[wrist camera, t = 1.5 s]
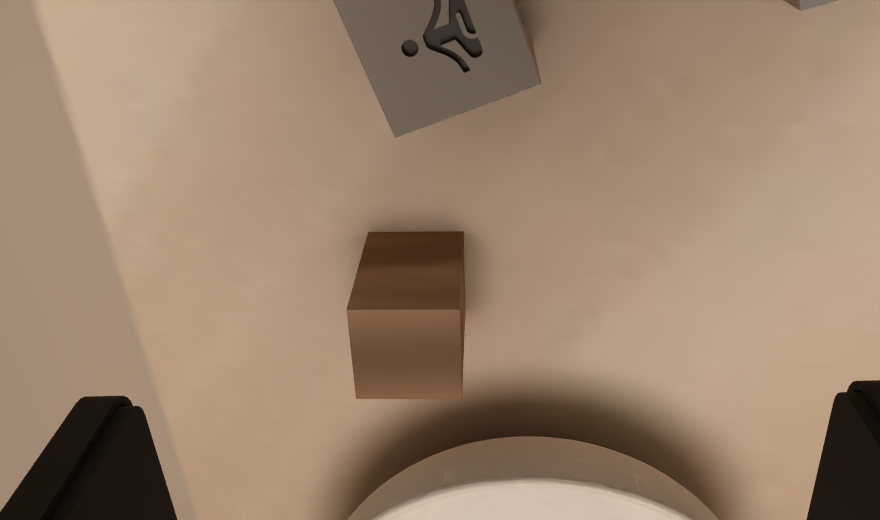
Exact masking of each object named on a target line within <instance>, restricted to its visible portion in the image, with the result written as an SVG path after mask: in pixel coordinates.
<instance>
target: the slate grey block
mask: <svg viewBox="0 0 880 520" xmlns="http://www.w3.org/2000/svg"><path fill="white" fill-rule="evenodd" d="M784 1H786V2H787V3H789V4H790V5H792V6H794V7H795V8H797V9H799V10H800V11H801V10H805V9H808V8H812V7H816V6H819V5H823V4H826V3H830V2H834V1H837V0H784Z"/></svg>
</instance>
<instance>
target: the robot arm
mask: <svg viewBox="0 0 880 520" xmlns="http://www.w3.org/2000/svg"><path fill="white" fill-rule="evenodd" d="M0 520H177V517H176V514H175V511H174V507H173V504H172V501H171V498H170V494H169V491H168V488H167V485H166V481H165V478H164V475H163V472H162V468H161V465H160V462H159V459H158V455H157V452H156V449H155V446H154V443H153V439H152V436H151V433H150V429H149V426H148V423H147V420H146V416H145V414H144V411H143V409H142V408H141V407H139V406H133V405H132V403H131V401H130V400H129V399H128V398H127V397H125V396H93V397H83V398H81V399H80V400H79V401H78V402H77V403H76V404H75V406H74V407H73V408H72V410H71V411H70V413H69V414H68V416H67V417H66V419H65V420H64V422H63V423H62V424H61V426H60V427H59V429H58V430H57V431H56V433H55V434H54V436H53V437H52V439H51V440H50V442H49V443H48V444H47V446H46V447H45V449H44V450H43V452H42V453H41V455H40V456H39V457H38V459H37V460H36V462H35V463H34V465H33V466H32V467H31V469H30V470H29V472H28V473H27V475H26V476H25V477H24V479H23V480H22V482H21V483H20V485H19V486H18V488H17V489H16V490H15V492H14V493H13V495H12V496H11V498H10V499H9V501H8V502H7V503H6V505H5V506H4V508H3V509H2V510H1V512H0ZM807 520H880V380H878V381H855V382H852V383H851V385H850V386H849V388H848V390H847V392H841V393H838V394H837V395H836V396H835V399H834V402H833V407H832V411H831V415H830V420H829V424H828V429H827V433H826V437H825V442H824V446H823V450H822V455H821V459H820V464H819V468H818V472H817V477H816V481H815V486H814V490H813V494H812V499H811V503H810V508H809V512H808V516H807Z"/></svg>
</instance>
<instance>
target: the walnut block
mask: <svg viewBox="0 0 880 520" xmlns="http://www.w3.org/2000/svg"><path fill="white" fill-rule="evenodd" d="M347 318H348V327H349V336H350V345H351V355H352V364H353V373H354V383H355V392H356V399H462V383H463V357H464V330H465V278H464V232H368V235H367V238H366V242H365V246H364V249H363V253H362V256H361V260H360V264H359V267H358V271H357V274H356V278H355V282H354V285H353V289H352V292H351V296H350V300H349V303H348V307H347Z"/></svg>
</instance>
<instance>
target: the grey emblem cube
mask: <svg viewBox="0 0 880 520" xmlns="http://www.w3.org/2000/svg"><path fill="white" fill-rule="evenodd" d="M333 1H334V3H335V5H336V7H337V10H338V12H339V14H340V16H341V19H342V21H343V23H344V25H345V27H346V30H347V32H348V34H349V36H350V39H351V41H352V43H353V45H354V47H355V50H356V52H357V54H358V56H359V58H360V61H361V63H362V65H363V67H364V70H365V72H366V74H367V76H368V78H369V81H370V83H371V85H372V87H373V90H374V92H375V94H376V96H377V98H378V101H379V103H380V105H381V107H382V110H383V112H384V114H385V116H386V118H387V121H388V123H389V125H390V127H391V129H392V132H393V134H394V136H395V138H396V137H398V136H401V135H404V134H407V133H409V132H412V131H415V130H417V129H420V128H423V127H425V126H428V125H431V124H433V123H436V122H439V121H442V120H444V119H447V118H450V117H452V116H455V115H458V114H460V113H463V112H466V111H469V110H471V109H474V108H477V107H479V106H482V105H485V104H487V103H490V102H493V101H495V100H498V99H501V98H504V97H506V96H509V95H512V94H514V93H517V92H520V91H522V90H525V89H528V88H531V87H533V86H536V85H539V84H541V80H540V76H539V71H538V66H537V62H536V57H535V52H534V48H533V43H532V40H531V38H530V35H529V32H528V29H527V26H526V23H525V20H524V17H523V14H522V11H521V9H520V6H519V3H518V0H333Z"/></svg>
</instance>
